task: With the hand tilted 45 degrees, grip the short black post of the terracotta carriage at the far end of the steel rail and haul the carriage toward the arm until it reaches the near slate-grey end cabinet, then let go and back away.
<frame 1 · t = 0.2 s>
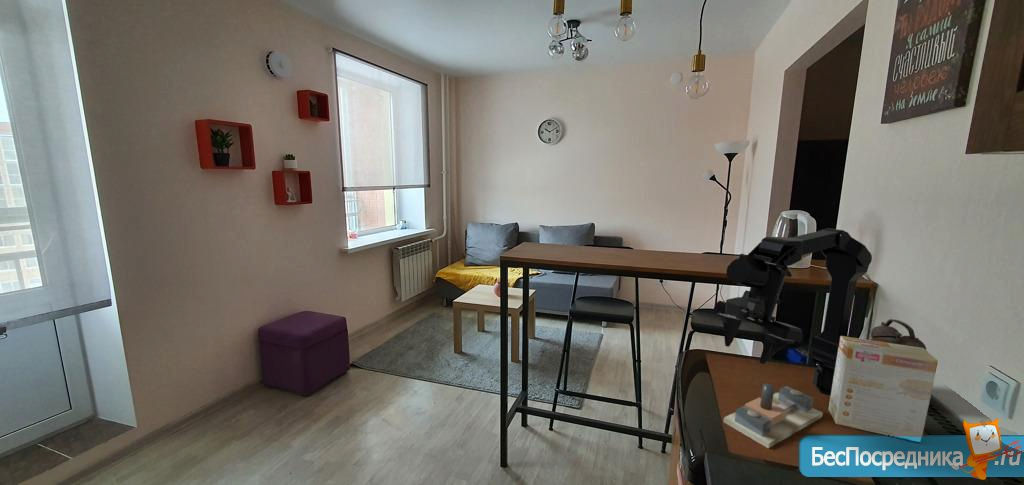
hand: (743, 354, 92), 15 cm above the table, tool tilted 15°, fingers open, 9 cm apart
carriage: (766, 400, 90), point 6 cm above the table, slide at 4.2 cm
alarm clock: (888, 393, 105), on the table
coffeecake box: (871, 426, 91), on the table
rail track: (773, 419, 93), on the table
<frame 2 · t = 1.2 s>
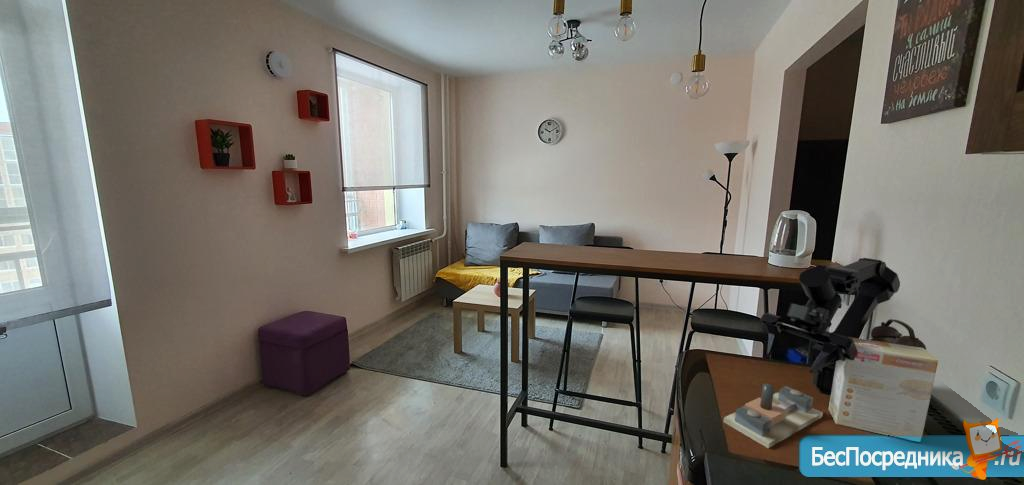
hand: (788, 363, 92), 13 cm above the table, tool tilted 45°, fingers open, 9 cm apart
nothing on the table moved.
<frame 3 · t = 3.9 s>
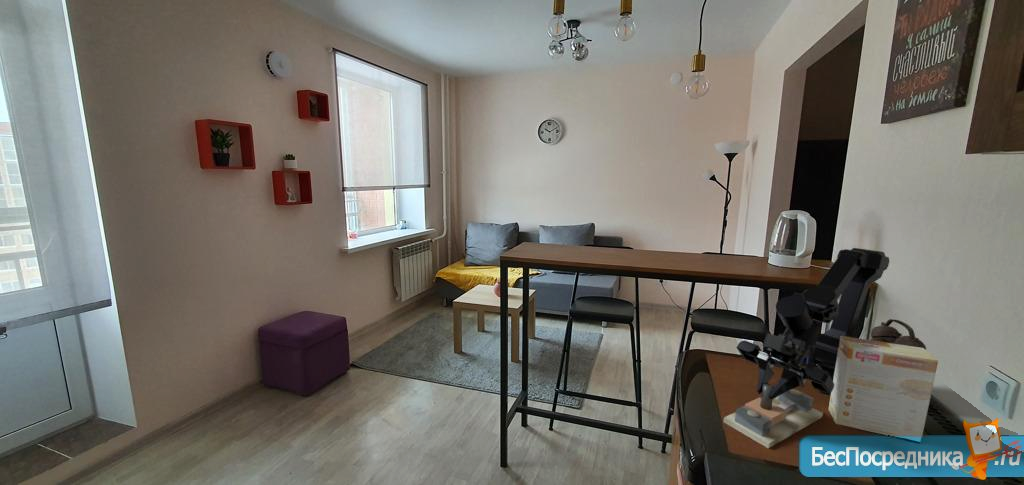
hand: (764, 395, 89), 8 cm above the table, tool tilted 45°, fingers closed on carriage, 2 cm apart
carriage: (766, 400, 90), point 6 cm above the table, slide at 4.3 cm, touching gripper
everything else where it was.
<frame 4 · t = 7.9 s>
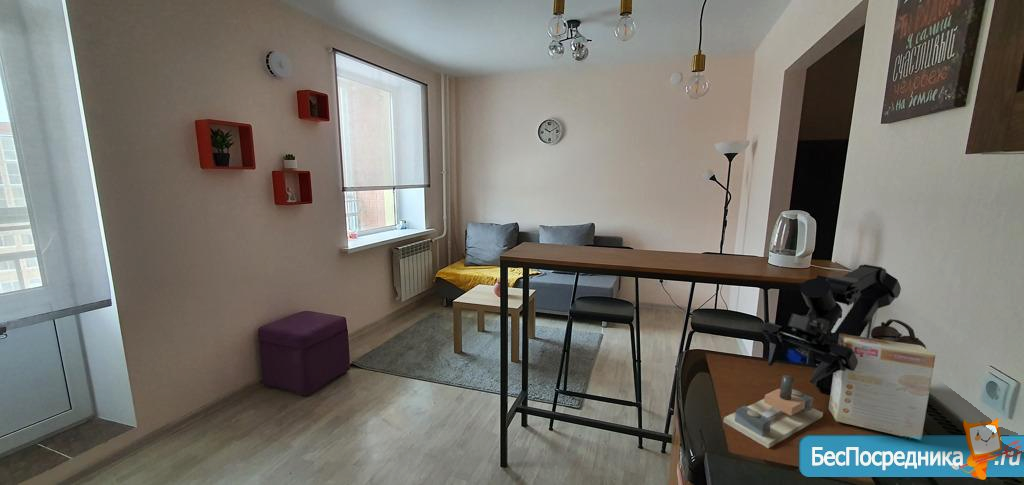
hand: (789, 373, 93), 11 cm above the table, tool tilted 45°, fingers open, 9 cm apart
carriage: (786, 391, 94), point 6 cm above the table, slide at -4.0 cm
coffeecake box: (871, 424, 91), on the table, touching gripper
everything else where it was.
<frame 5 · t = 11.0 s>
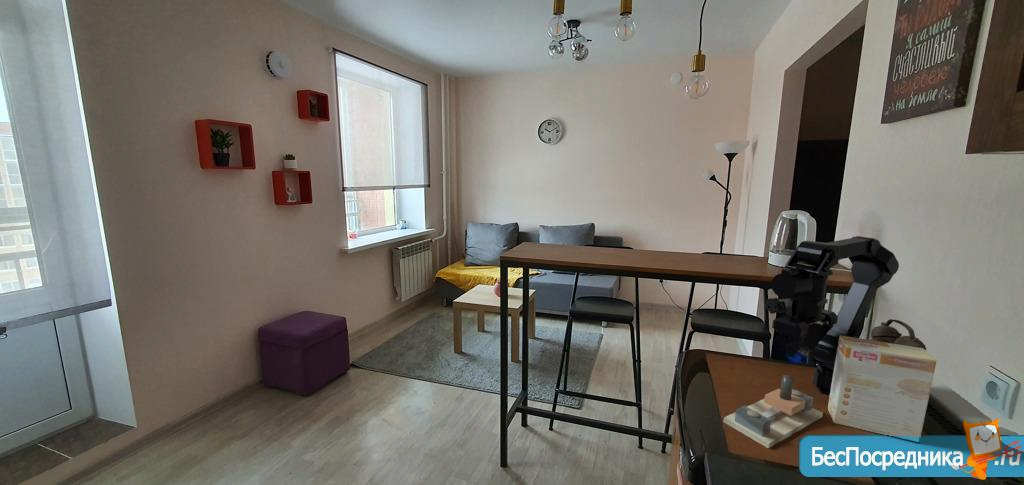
hand: (800, 353, 98), 13 cm above the table, tool pointing down, fingers open, 9 cm apart
coffeecake box: (869, 425, 91), on the table
everything else where it was.
at the end: carriage slide at -4.0 cm; the gripper is holding nothing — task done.
